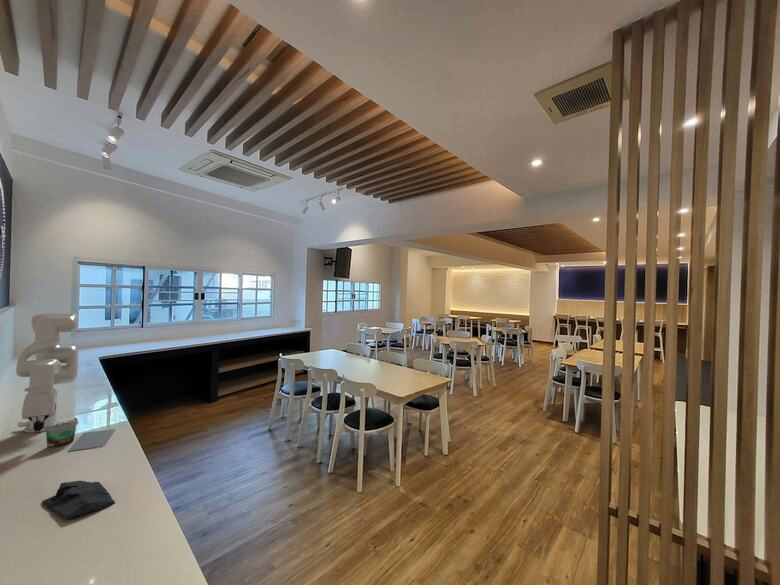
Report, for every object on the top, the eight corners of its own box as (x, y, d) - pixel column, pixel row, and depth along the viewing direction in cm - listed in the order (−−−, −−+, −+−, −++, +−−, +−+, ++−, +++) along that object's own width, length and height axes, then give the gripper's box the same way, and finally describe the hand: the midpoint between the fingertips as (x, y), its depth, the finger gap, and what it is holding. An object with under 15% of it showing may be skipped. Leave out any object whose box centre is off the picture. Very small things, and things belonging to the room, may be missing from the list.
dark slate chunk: (55, 530, 98) (56, 514, 98) (40, 502, 111) (41, 488, 111) (118, 504, 111) (119, 490, 111) (98, 482, 123) (99, 469, 123)
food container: (53, 450, 145) (55, 428, 146) (43, 448, 147) (44, 426, 147) (84, 439, 157) (85, 418, 158) (74, 437, 159) (75, 417, 159)
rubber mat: (67, 452, 144) (67, 451, 144) (83, 433, 163) (83, 432, 164) (104, 446, 151) (104, 445, 151) (115, 429, 170) (115, 428, 170)
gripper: (13, 393, 141) (10, 436, 141) (60, 390, 149) (57, 430, 148) (21, 389, 148) (19, 430, 147) (66, 386, 155) (64, 425, 155)
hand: (38, 430), depth 148 cm, fingers closed
